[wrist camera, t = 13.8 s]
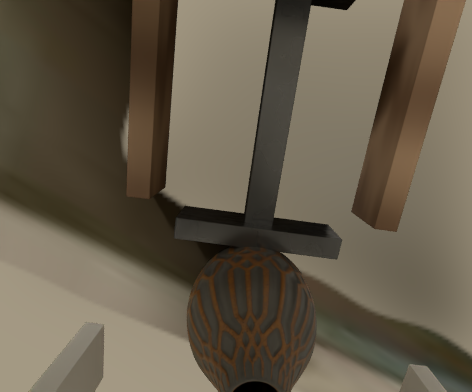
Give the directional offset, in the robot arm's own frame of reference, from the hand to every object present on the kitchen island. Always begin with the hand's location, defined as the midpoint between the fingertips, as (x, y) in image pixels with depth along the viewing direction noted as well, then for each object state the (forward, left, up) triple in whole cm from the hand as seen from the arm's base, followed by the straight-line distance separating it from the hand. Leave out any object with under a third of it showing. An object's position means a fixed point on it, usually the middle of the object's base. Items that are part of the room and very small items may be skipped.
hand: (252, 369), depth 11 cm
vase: (0, 0, -7) cm, 7 cm away
